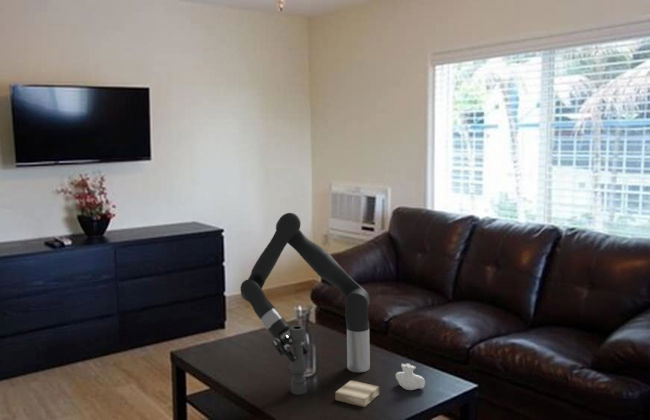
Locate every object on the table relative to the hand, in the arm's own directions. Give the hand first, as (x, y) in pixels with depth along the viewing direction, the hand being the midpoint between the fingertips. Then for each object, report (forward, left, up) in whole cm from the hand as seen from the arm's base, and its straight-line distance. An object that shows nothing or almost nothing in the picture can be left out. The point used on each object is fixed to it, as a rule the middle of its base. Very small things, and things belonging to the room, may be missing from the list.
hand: (300, 357), depth 224 cm
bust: (-22, +35, -14) cm, 43 cm away
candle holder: (0, -1, -14) cm, 14 cm away
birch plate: (-6, +21, -14) cm, 26 cm away
